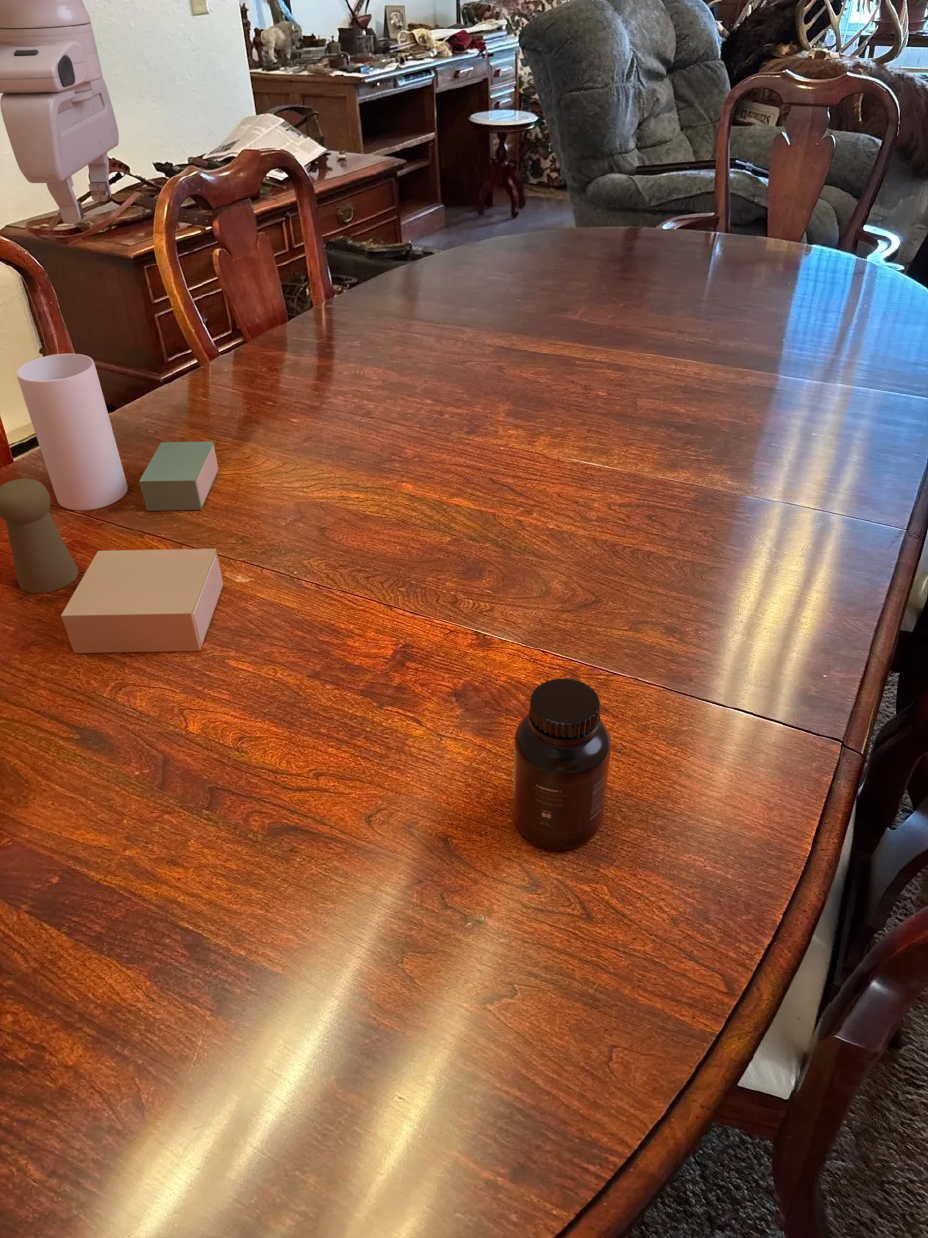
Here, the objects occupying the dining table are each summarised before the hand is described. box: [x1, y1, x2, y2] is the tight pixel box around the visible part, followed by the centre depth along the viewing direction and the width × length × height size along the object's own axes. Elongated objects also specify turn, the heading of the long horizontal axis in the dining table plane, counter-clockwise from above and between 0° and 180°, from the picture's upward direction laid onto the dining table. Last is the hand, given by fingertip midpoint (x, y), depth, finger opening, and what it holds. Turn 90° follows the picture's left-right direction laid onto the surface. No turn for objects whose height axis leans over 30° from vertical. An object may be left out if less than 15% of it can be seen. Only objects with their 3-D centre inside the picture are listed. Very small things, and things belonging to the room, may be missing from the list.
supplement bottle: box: [512, 677, 612, 851], centre depth 67 cm, size 7×7×12 cm
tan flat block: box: [60, 548, 224, 654], centre depth 90 cm, size 12×11×4 cm
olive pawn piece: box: [0, 478, 79, 594], centre depth 94 cm, size 6×6×11 cm
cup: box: [16, 353, 129, 511], centre depth 107 cm, size 8×8×16 cm
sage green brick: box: [138, 440, 220, 512], centre depth 111 cm, size 6×10×4 cm, turn 0°
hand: (89, 210), depth 98 cm, fingers open, 8 cm apart
